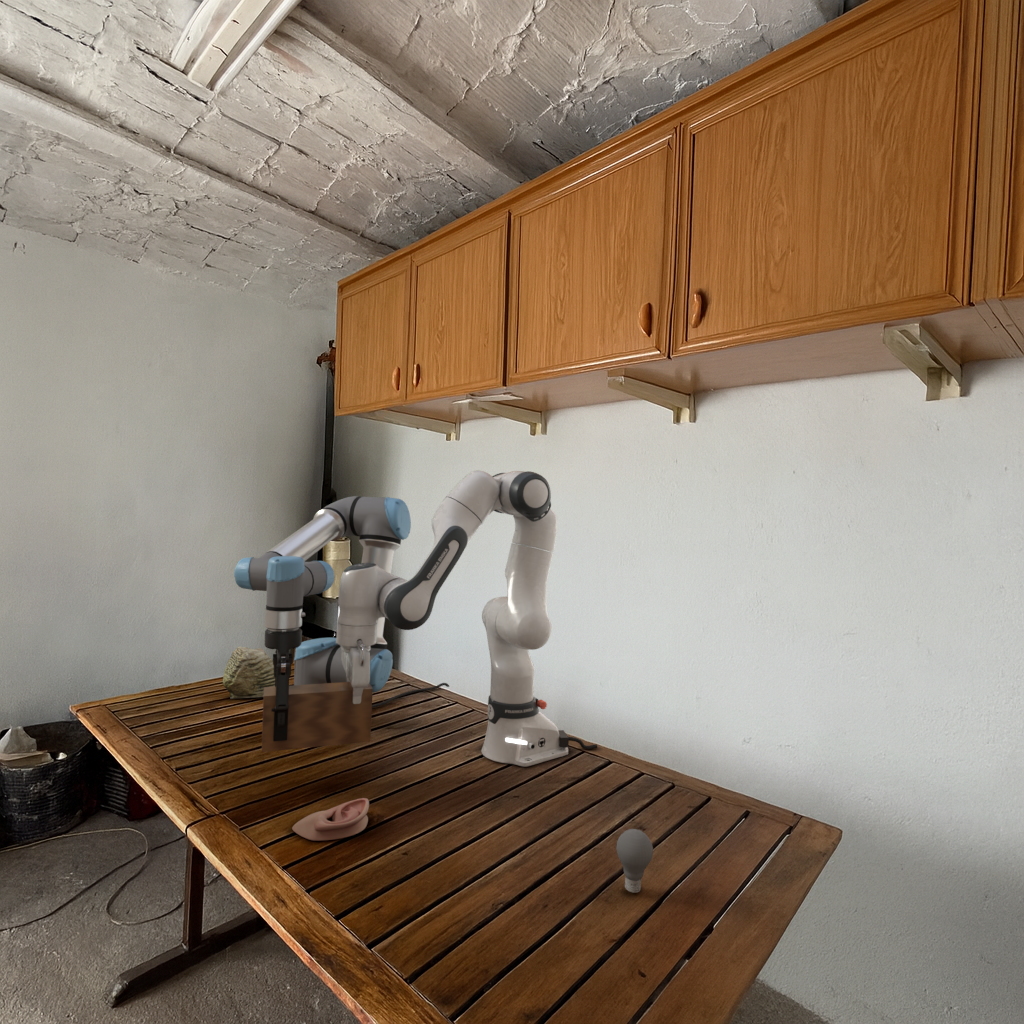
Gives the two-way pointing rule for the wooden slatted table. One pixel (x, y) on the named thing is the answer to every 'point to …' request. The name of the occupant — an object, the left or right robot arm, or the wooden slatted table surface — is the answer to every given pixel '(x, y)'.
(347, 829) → the anatomical model
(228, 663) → the fossil
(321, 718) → the box
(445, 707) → the wooden slatted table surface
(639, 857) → the light bulb
